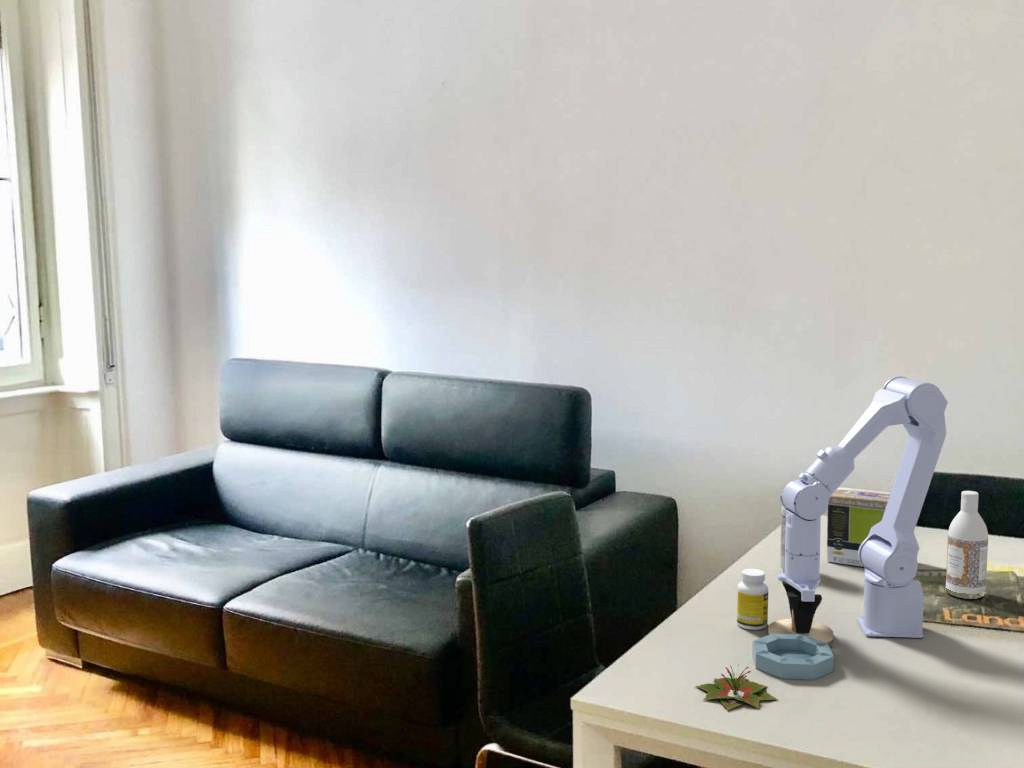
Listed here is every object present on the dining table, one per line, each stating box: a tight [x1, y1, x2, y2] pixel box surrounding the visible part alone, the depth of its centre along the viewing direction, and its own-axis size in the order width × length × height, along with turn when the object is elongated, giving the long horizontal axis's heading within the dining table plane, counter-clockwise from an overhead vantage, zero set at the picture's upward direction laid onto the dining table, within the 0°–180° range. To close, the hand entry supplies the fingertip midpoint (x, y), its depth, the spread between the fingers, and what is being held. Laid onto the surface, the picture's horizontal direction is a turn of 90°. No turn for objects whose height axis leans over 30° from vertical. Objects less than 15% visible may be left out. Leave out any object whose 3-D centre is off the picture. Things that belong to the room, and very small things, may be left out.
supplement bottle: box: [736, 568, 769, 631], centre depth 179 cm, size 5×5×10 cm
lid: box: [767, 610, 834, 643], centre depth 174 cm, size 11×11×4 cm
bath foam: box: [945, 490, 989, 594], centre depth 191 cm, size 7×7×20 cm
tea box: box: [826, 486, 892, 568], centre depth 212 cm, size 15×10×15 cm, turn 58°
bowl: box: [752, 634, 835, 681], centre depth 163 cm, size 12×12×2 cm
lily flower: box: [694, 664, 779, 711], centre depth 152 cm, size 12×12×5 cm
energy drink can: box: [779, 505, 786, 573], centre depth 206 cm, size 6×6×15 cm
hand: (800, 627), depth 174 cm, fingers open, 4 cm apart
